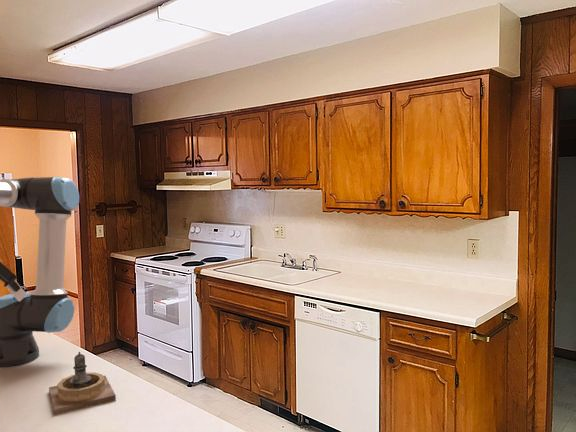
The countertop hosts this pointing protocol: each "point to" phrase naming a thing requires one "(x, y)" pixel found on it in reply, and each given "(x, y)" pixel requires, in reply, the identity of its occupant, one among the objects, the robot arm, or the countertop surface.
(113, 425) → the countertop surface
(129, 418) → the countertop surface
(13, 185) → the robot arm
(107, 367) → the countertop surface
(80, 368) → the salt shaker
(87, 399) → the collar stand
